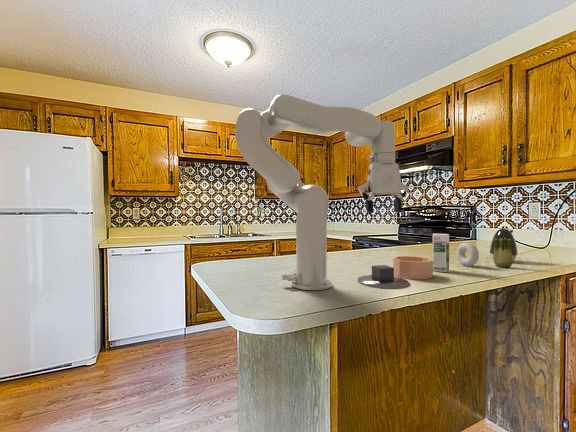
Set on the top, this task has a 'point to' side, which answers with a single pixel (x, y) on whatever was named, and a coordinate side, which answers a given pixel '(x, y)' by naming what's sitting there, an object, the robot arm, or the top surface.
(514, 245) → the dark glossy dome
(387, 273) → the lid
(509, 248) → the fennel bulb
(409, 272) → the bowl
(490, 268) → the top surface
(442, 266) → the syrup box
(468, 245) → the donut
